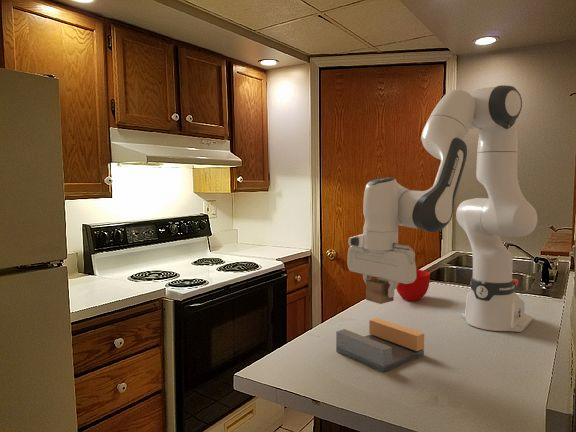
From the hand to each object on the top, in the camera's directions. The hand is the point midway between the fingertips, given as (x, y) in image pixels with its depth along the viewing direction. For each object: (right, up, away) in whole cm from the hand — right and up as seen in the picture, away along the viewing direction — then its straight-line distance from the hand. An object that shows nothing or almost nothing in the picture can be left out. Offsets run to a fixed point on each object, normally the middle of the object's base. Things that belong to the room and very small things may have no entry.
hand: (379, 294), depth 112 cm
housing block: (0, -2, 0) cm, 2 cm away
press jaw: (+5, -14, +5) cm, 16 cm away
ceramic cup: (+21, -11, +49) cm, 55 cm away
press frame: (0, -16, +2) cm, 16 cm away
